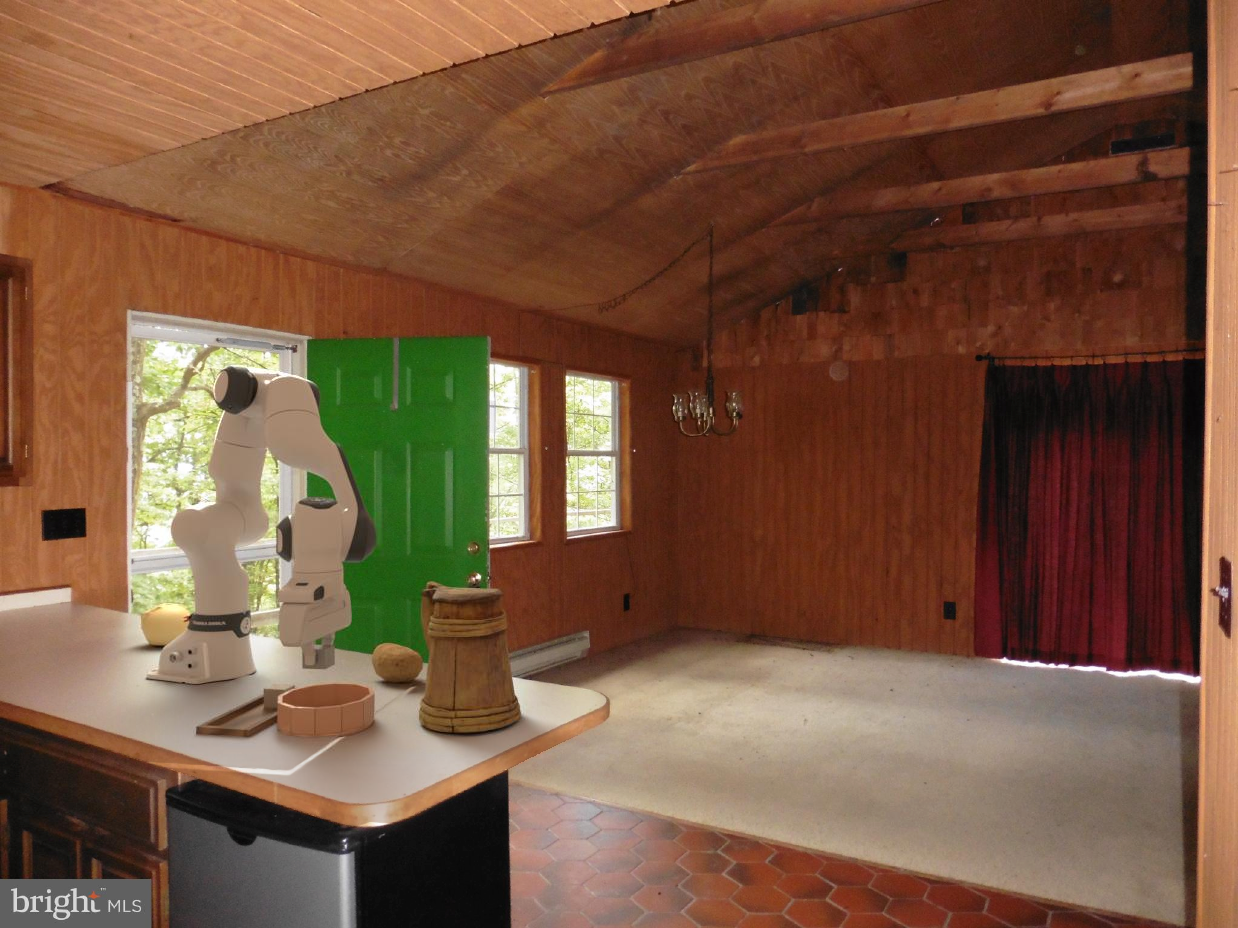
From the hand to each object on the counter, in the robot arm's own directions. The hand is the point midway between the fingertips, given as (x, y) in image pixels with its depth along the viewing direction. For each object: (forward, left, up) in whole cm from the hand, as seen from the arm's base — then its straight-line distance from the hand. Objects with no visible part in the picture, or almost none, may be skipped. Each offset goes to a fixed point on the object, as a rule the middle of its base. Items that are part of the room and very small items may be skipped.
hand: (318, 660), depth 152 cm
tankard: (+25, +8, -12) cm, 28 cm away
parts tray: (-12, +3, -12) cm, 17 cm away
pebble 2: (-12, +8, -11) cm, 18 cm away
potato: (+3, +30, -12) cm, 32 cm away
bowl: (+2, 0, -12) cm, 12 cm away
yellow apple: (-71, +55, -12) cm, 91 cm away
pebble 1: (0, 0, -1) cm, 1 cm away
